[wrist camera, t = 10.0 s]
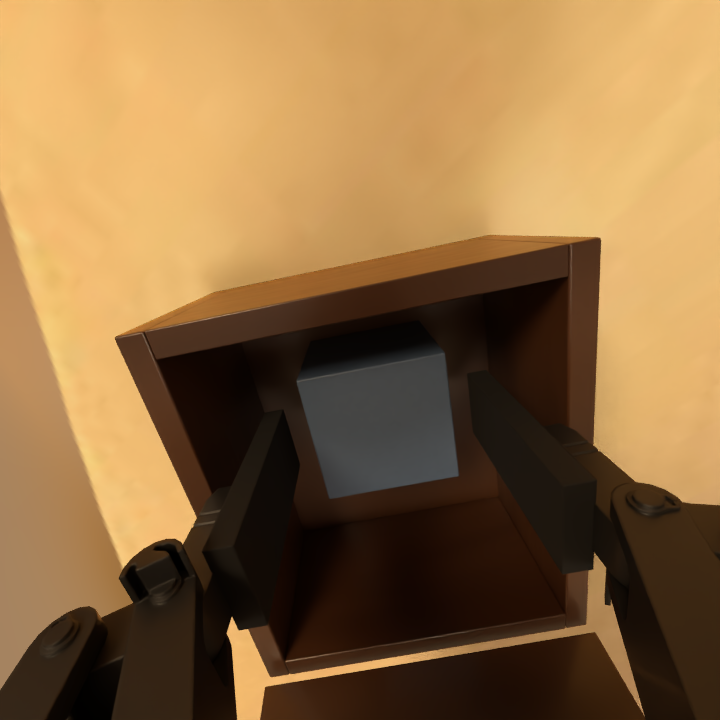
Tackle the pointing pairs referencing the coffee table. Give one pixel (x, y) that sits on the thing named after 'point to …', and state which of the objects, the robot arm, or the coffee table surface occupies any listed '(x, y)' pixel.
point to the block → (379, 409)
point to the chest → (400, 504)
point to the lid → (470, 688)
